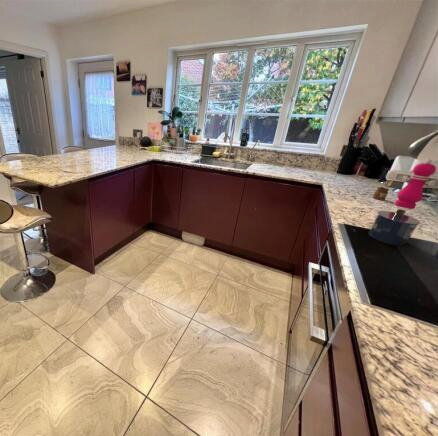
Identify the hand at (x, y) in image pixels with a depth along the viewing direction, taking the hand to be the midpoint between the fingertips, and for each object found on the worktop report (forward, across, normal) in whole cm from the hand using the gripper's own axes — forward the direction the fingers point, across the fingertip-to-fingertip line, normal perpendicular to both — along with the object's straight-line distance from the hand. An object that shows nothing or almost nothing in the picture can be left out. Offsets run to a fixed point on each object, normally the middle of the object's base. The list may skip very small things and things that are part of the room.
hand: (417, 181), depth 95 cm
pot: (+11, 0, +23) cm, 26 cm away
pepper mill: (-1, 0, +11) cm, 11 cm away
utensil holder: (-59, -13, +24) cm, 65 cm away
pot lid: (+11, 0, +14) cm, 18 cm away
